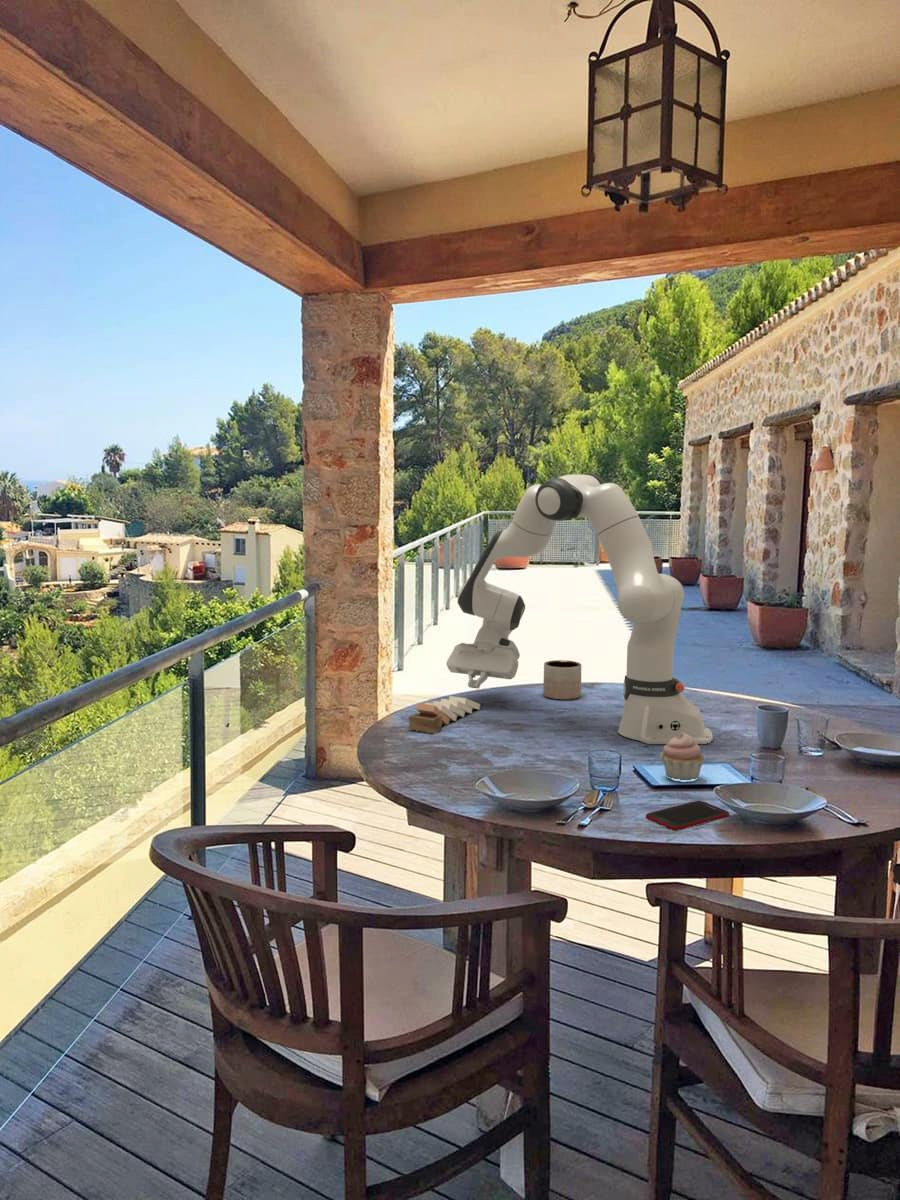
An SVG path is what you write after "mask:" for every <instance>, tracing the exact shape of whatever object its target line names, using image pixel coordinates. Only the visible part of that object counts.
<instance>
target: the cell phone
mask: <svg viewBox="0 0 900 1200" xmlns="http://www.w3.org/2000/svg"><path fill="white" fill-rule="evenodd" d="M729 816H730V812H729V811H728V810H725V809H724V808H721V807H718V806H716V805H713V804H710V803H708V802H706V801H703V800H695V801H691V802H687V803H682V804H679V805H675V806H671V807H668V808H667V807H666V808H664V809H663V808H662V809H659V810H655V811H651V812H648V813H646V814H645V819H646V818H647V820H648V819H649V820H648V821H650V820H651V821H652V822H653V821H654V822H653V823H655V822H658V823H657V824H659V823H660V824H659V825H660V826H662V825H663V826H662V827H664V826H666V827H667V828H670V829H669V830H671V829H672V830H671V831H679V830H678V829H681V830H684V829H683V828H685V829H687V828H686V827H688V828H690V827H689V826H692V827H694V826H693V825H695V826H698V825H697V824H699V825H702V824H701V823H703V824H705V823H704V822H706V823H708V821H709V822H713V820H714V821H717V820H721V819H724V818H727V817H729Z"/></svg>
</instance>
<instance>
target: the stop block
mask: <svg viewBox="0 0 900 1200" xmlns="http://www.w3.org/2000/svg"><path fill="white" fill-rule="evenodd" d="M442 726H443V724H442V716H435V715H428V714H422V713H420V712H416V713H414V714H411V715H409V716H408V730H409V729H411V730H417V731H416V732H418V731H422V732H421V733H424V732H428V733H427V734H430V733H433V734H432V735H434V733H435V734H437V733H439V732H441V731H442V730H443V729H442ZM411 730H410V731H411ZM438 731H439V732H438ZM436 732H437V733H436Z"/></svg>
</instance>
